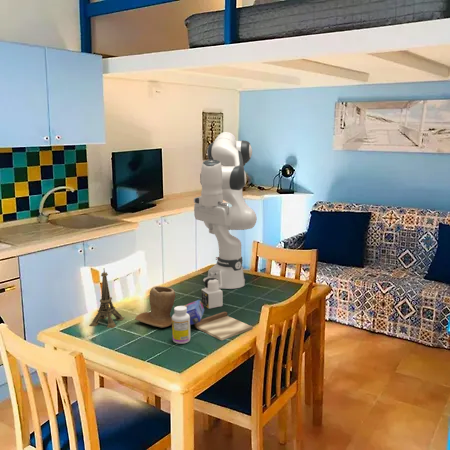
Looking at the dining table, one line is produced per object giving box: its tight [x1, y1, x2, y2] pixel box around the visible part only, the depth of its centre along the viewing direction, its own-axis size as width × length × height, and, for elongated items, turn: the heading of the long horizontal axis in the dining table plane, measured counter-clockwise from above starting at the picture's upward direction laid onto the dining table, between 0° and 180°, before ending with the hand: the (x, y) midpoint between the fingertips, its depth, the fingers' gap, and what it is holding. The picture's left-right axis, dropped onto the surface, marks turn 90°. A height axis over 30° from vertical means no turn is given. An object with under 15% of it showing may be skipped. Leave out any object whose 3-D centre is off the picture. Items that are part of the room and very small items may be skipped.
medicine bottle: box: [201, 278, 224, 310], centre depth 221 cm, size 7×7×12 cm
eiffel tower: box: [88, 269, 125, 329], centre depth 202 cm, size 11×11×25 cm
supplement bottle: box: [171, 305, 191, 345], centre depth 185 cm, size 7×7×13 cm
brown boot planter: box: [134, 285, 176, 329], centre depth 202 cm, size 15×12×15 cm
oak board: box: [193, 311, 253, 341], centre depth 197 cm, size 16×16×2 cm
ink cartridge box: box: [183, 299, 205, 326], centre depth 199 cm, size 10×6×14 cm
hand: (212, 233), depth 207 cm, fingers closed
